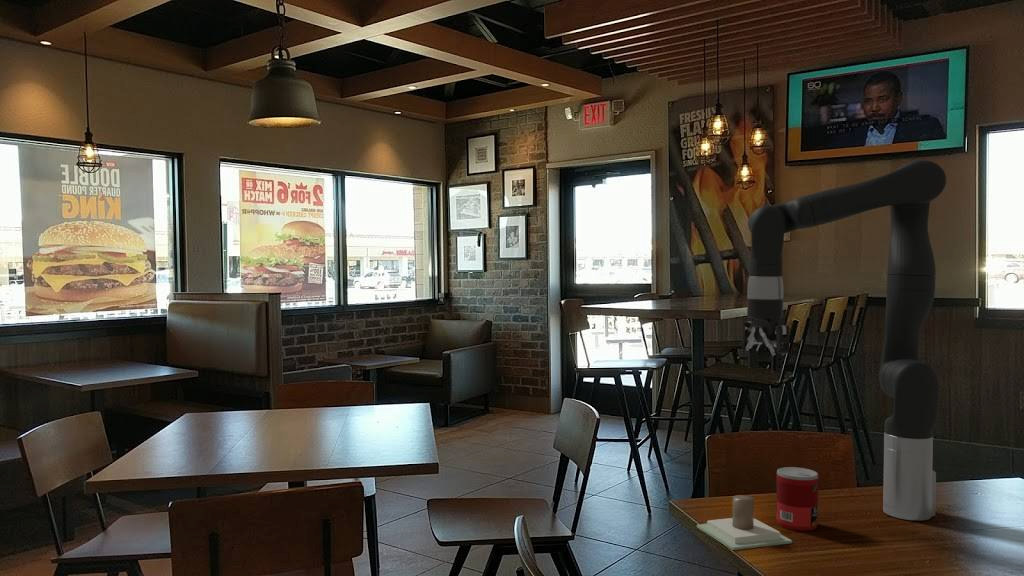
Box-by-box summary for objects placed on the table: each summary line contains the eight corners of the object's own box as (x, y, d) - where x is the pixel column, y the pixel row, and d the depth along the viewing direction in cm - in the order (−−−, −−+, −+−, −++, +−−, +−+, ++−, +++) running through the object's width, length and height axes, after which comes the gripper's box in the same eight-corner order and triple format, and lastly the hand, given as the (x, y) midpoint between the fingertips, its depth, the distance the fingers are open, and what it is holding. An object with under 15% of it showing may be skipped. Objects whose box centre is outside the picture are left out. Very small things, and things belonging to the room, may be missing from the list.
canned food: (821, 532, 151) (821, 478, 150) (779, 529, 152) (779, 475, 152) (813, 520, 158) (814, 467, 158) (773, 517, 160) (774, 465, 159)
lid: (750, 521, 156) (750, 489, 155) (780, 538, 146) (780, 503, 146) (707, 526, 153) (707, 493, 153) (735, 543, 143) (735, 508, 143)
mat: (752, 521, 157) (752, 518, 157) (792, 543, 145) (792, 540, 145) (696, 527, 154) (696, 524, 154) (732, 550, 141) (732, 547, 141)
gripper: (800, 298, 161) (799, 374, 161) (760, 295, 175) (759, 365, 175) (770, 298, 159) (769, 375, 159) (732, 296, 172) (731, 366, 173)
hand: (764, 370), depth 167 cm, fingers open, 8 cm apart
